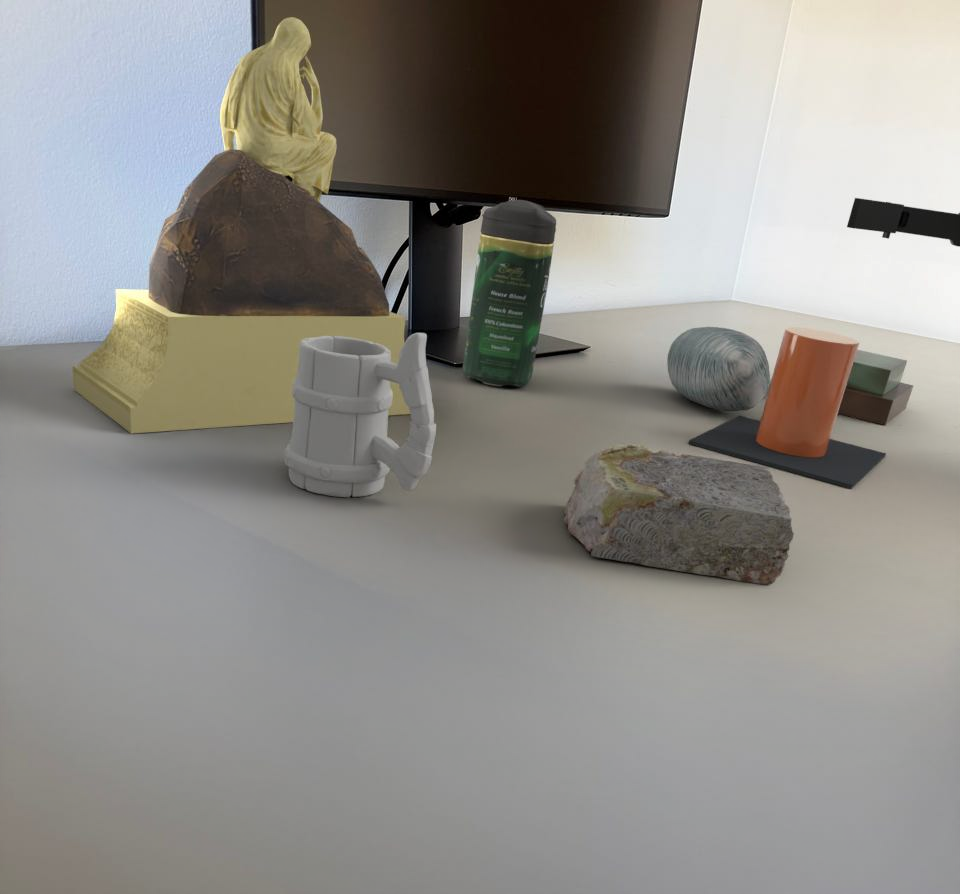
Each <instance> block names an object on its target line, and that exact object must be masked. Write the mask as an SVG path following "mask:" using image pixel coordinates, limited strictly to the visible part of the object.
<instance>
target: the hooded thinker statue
mask: <svg viewBox="0 0 960 894" xmlns="http://www.w3.org/2000/svg"><path fill="white" fill-rule="evenodd" d="M311 47H312V39H311V35H310V31H309V29H308V28H307V26H306V24H305V23H304V22H303V21H302V20H301V19H299V18H296V17H293V16H291V17H286V18H284V19H282V20H281V22H279V24H278V25H277V27H276V30H275V31H274V35H273V36H272V37H271V39H270V40H269V41H268V42H267V43H265V44H263V45H261V46H259V47H257V48H255V49H253V50H250V51H248V52H247V53H246V54H244V55H243V56H242V57H241V58H240V60H239V61H238V63H237V65H236V67H235V69H234V70H233V72H232V74H231V76H230V79H229V80H228V83H227V86H226V89H225V92H224V96H223V98H222V101H221V106H220V111H219V121H220V123H219V124H220V128H221V134H222V141H223V148H224V151H222V152H219V153H217V154H215V155H214V156H213V157H212V158H211V159H210V160H209V161H208V163H207V164H206V165H205V166H204V167H203V169H201V171H200V172H199V173H198V174H197V175H196V177H195V178H194V179H193V180H192V181H191V182H190V183H189V185H187V187H186V188H185V189H184V192H183V193H182V196H181V198H180V201H179V203H178V204H177V208H176V210H175V212H174V213H172V214H171V215H170V216H168V217H166V218H165V219H164V220H163V223H162V227H161V230H160V232H159V235H158V238H157V241H156V243H155V246H154V250H153V252H152V255H151V257H150V260H149V264H148V289H118V288H117V289H115V301H116V302H115V305H116V306H115V307H116V309H115V313H114V318H113V322H112V328H111V329H110V331H109V333H108V334H107V336H106V337H105V338H104V340H103V341H102V343H101V344H100V346H98V347H97V348H96V349H94V350H93V351H92V352H91V353H90V354H89V355H87V356H86V357H85V358H83V359H82V360H81V361H80V362H79V363H80V364H79V365H72V383H73V391H75V392H76V393H77V394H78V395H80V396H81V397H82V398H84V399H85V400H86V401H87V402H89V403H90V404H92V405H93V406H94V407H96V408H97V409H98V410H99V411H101V412H102V413H104V414H105V415H106V416H107V417H109V418H110V419H111V420H113V421H114V422H115V423H116V424H118V425H119V426H121V427H122V428H123V429H124V430H126V431H127V432H128V433H129V434H143V433H158V432H159V433H160V432H173V431H174V432H175V431H187V430H201V429H216V428H230V427H242V426H243V427H244V426H245V427H246V426H258V425H259V426H260V425H272V424H286V423H293V416H294V405H295V398H294V397H293V396H292V385H293V381H294V380H295V379H296V378H297V370H298V358H299V346H300V341H301V340H303V339H304V338H312V337H321V336H331V337H332V338H333V337H334V336H342V337H350V338H355V339H361V340H365V341H370V342H373V343H377V344H380V345H383V346H385V347H386V348H388V349H389V350H390V351H391V362H392V363H395V364H397V365H398V357H399V353H400V350H401V348H402V346H403V344H404V343H405V327H406V318H407V317H405V316H402V315H400V314H397V313H395V312H392V311H390V303H389V300H388V298H387V294H386V292H385V288H384V284H383V282H382V278H381V275H380V274H379V272H378V270H377V268H376V267H375V265H374V264H373V262H372V261H371V259H370V257H369V256H368V254H367V253H366V251H365V250H364V248H362V247H361V246H358V244H357V241H356V237H355V235H354V232H353V229H351V227H350V226H348V225H347V224H346V223H345V222H344V221H342V220H341V219H340V218H339V217H338V216H336V215H335V214H334V213H333V212H331V210H330V209H328V208H327V207H326V206H325V205H323V204H322V203H321V199H322V195H323V193H324V194H326V195H329V189H330V185H331V178H332V172H333V165H334V159H335V157H336V154H337V148H338V147H337V146H338V145H337V138H336V137H335V135H333V134H332V133H329V132H326V131H321V130H322V125H323V119H324V113H323V106H322V98H321V91H320V85H319V81H318V79H317V77H316V74H315V72H314V69H313V66H312V64H311V62H310V60H309V58H308V56H307V53H308V52H309V50H310V48H311ZM304 58H305V62H306V66H307V67H306V66H304V65H303V66H302V67H300V62H301V61H302V59H304ZM300 71H303V72H302V74H300ZM301 77H302V78H301ZM304 77H305V78H306V80H307V82H308V84H309V86H310V89H311V103H310V100H309V98H308V96H307V92H306V90H305V89H306V88H305V87H304V84H303V83H302V79H303V80H304V79H305V78H304ZM234 137H235V139H234ZM234 140H235V143H234ZM235 144H236V145H235ZM235 146H236V149H235ZM399 386H400V384H398V383H395V382H392V381H390V388H391V390H392V392H393V398H392V405H391V406H390V408H389V409H388V416H402V415H411V414H410V411H409V407H408V406H407V405H406V403H405V401H404V398H403V395H402V392H401V390H400V388H399Z"/></svg>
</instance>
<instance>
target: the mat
mask: <svg viewBox="0 0 960 894" xmlns="http://www.w3.org/2000/svg"><path fill="white" fill-rule="evenodd" d="M760 421H761V420H760V419H759V420H758V419H755V418H751V417H748V416H744V415H738V416H736V417H734V418H731V419H730V420H727V421H725V422H724V423H721V424H720V425H717V426H715V427H713V428H711V429H708V430H707V431H705V432H703V433H701V434H698V435H696V436H695V437H693V438H690V439H689V440H688V445H691V446H696V447H699V448H702V449H706V450H709V451H714V452H717V453H720V454H724V455H727V456H731V457H735V458H739V459H742V460H746V461H748V462H752V463H756V464H759V465H762V466H766V467H771V468H774V469H777V470H782V471H784V472H788V473H792V474H795V475H799V476H802V477H806V478H810V479H814V480H818V481H821V482H825V483H829V484H832V485H835V486H839V487H842V488H846V489H850V490H851V489H852V490H853V488H854V487H855V486H857V484H858V483H859V482H860V481H861V480H862V479H863V478H864V477H865V476H867V475H868V474H869V473H870V472H871V471H872V470H873V469H874V468H875V467H876V466H877V465H878V464H879V463H880V462H881V461H882V460H884V458H886V454H887V453H886V452H883V451H878V450H875V449H871V448H867V447H863V446H859V445H855V444H851V443H847V442H844V441H840V440H836V439H833V438H830V441H829V444H828V447H827V451H826V454H825V455H824V456H822V457H815V458H810V457H799V456H793V455H788V454H784V453H780V452H776V451H773V450H771V449H768V448H766V447H764V446H762V445H760V444H759V443H757V442H756V436H757V432H758V428H759V425H760Z"/></svg>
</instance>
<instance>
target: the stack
mask: <svg viewBox="0 0 960 894" xmlns="http://www.w3.org/2000/svg"><path fill="white" fill-rule="evenodd" d="M907 363H908V360H907V359H902V358H897V357H894V356H890V355H889V356H888V355H883V354H879V353H875V352H870V351H865V350H861V349H857V353H856V356H855V359H854V362H853V366H852V369H851V372H850V376H849V379H848V382H847V385H846V389H845V392H844V395H843V398H842V402H841V405H840V408H839V412H838V415H842V416H846V417H850V418H854V419H858V420H861V421H866V422H870V423H873V424H874V423H875V424H877V425H881V426H886V425H887V424H889V423H890V422H891V421H892V420H894V419H895V418H896V417H897V416H898V415H900V414H901V413H902V412H903V411H904V410H906V409H907V406H908V403H909V401H910V398H911V394H912V391H913V389H914V385H913V384H909V383H905V382H901V381H902V379H903V376H904V372H905V369H906V366H907Z"/></svg>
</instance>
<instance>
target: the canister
mask: <svg viewBox="0 0 960 894" xmlns="http://www.w3.org/2000/svg"><path fill="white" fill-rule="evenodd" d="M859 346H860V341H859V340H858V339H855V338H852V337H850V336H846V335H843V334H840V333H839V334H838V333H835V332H831V331H824V330H819V329H813V328H805V327H804V328H803V327H785V329H784V333H783V335H782V339H781V343H780V346H779V351H778V354H777V358H776V361H775V362H776V363H775V366H774V369H773V373H772V377H771V381H770V383H769V386H768V390H767V394H766V399H765V402H764V405H763V410H762V415H761V417H760V420H759V421H760V425H759V428H758V432H757V436H756V442H757V443H759V444H760V445H762V446H764V447H766V448H768V449H771V450H773V451H776V452H780V453H784V454H788V455H793V456H799V457H810V458H815V457H822V456H824V455H825V454H826V451H827V447H828V444H829V441H830V439H832V438H831V437H832V434H833V431H834V428H835V425H836V421H837V418H838V415H839V414H838V412H839V408H840V405H841V402H842V398H843V395H844V392H845V389H846V385H847V382H848V379H849V376H850V372H851V369H852V366H853V362H854V359H855V356H856V353H857V350H859Z"/></svg>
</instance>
